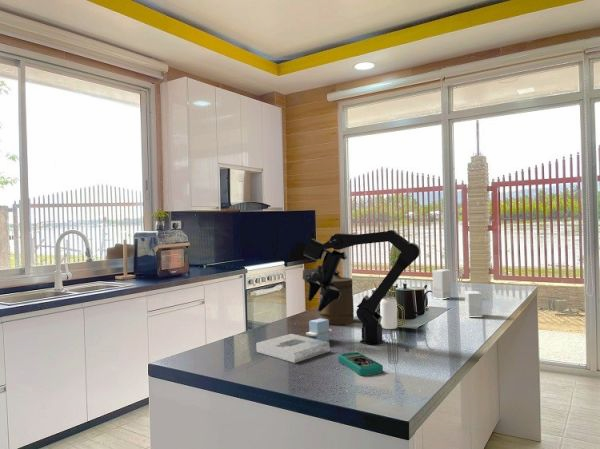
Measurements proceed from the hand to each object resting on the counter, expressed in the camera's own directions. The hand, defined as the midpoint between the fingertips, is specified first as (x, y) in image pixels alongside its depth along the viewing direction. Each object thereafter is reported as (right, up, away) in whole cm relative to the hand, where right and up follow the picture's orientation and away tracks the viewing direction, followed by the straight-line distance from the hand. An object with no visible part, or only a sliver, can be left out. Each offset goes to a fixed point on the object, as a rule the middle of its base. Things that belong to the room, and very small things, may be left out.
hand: (314, 305), depth 163 cm
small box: (+70, -11, +32) cm, 78 cm away
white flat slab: (-8, -12, -16) cm, 21 cm away
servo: (+2, -12, -4) cm, 13 cm away
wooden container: (+10, -12, +29) cm, 33 cm away
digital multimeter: (+12, -12, -33) cm, 37 cm away
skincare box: (+71, -11, +78) cm, 106 cm away
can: (+30, -12, +15) cm, 35 cm away
